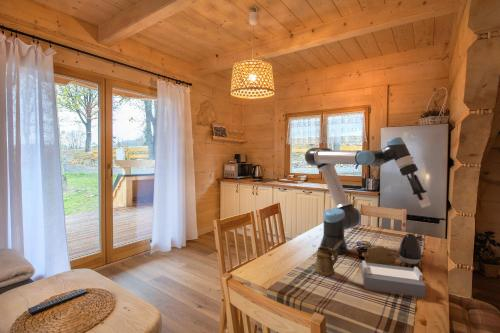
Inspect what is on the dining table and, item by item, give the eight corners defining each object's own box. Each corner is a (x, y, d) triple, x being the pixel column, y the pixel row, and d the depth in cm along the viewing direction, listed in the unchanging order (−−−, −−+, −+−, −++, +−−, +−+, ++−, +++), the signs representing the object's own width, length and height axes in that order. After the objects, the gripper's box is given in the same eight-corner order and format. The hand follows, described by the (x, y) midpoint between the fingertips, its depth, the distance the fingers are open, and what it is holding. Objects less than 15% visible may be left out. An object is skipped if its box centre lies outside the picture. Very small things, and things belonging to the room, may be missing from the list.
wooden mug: (337, 281, 116) (337, 241, 115) (310, 271, 126) (311, 234, 125) (346, 274, 123) (347, 237, 122) (320, 265, 132) (320, 230, 131)
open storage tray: (364, 288, 110) (365, 271, 110) (361, 272, 125) (361, 257, 125) (425, 298, 103) (425, 279, 103) (413, 279, 118) (414, 263, 118)
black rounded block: (425, 267, 130) (426, 237, 129) (402, 265, 132) (403, 236, 132) (416, 259, 140) (417, 231, 139) (395, 257, 142) (396, 230, 141)
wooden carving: (393, 263, 135) (393, 244, 135) (397, 267, 131) (397, 247, 130) (360, 261, 137) (360, 243, 136) (363, 265, 132) (363, 246, 132)
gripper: (410, 160, 121) (433, 204, 114) (418, 164, 140) (437, 202, 133) (393, 167, 125) (414, 210, 118) (403, 170, 144) (421, 207, 137)
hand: (426, 206), depth 126 cm, fingers open, 13 cm apart
